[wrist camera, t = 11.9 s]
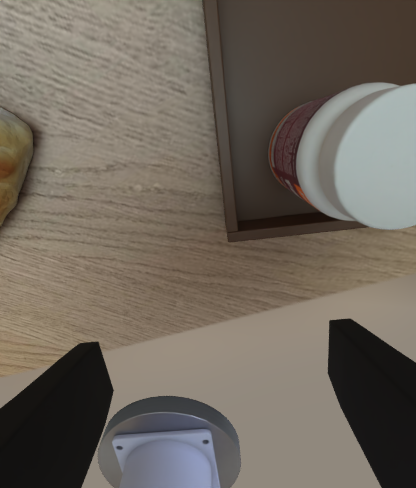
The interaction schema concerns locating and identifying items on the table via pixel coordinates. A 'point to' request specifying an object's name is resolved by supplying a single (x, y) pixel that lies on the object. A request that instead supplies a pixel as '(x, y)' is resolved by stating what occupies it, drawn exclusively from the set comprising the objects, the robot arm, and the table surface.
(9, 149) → the pastry
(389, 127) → the pill bottle
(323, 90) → the tray
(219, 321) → the table surface
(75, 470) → the robot arm
